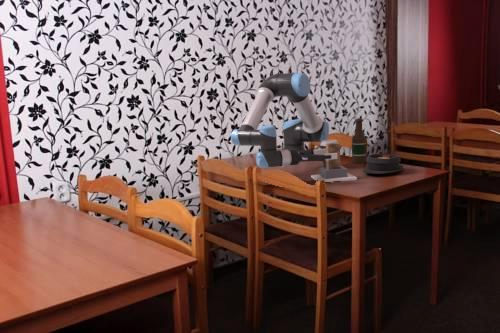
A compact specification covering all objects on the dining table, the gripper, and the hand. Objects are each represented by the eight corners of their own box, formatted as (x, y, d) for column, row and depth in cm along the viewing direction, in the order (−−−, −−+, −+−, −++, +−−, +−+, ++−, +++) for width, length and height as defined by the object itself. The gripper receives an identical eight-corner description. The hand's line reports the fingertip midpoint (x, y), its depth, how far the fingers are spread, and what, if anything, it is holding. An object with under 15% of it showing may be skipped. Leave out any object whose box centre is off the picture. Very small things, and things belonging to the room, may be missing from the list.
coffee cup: (338, 166, 290) (338, 139, 287) (339, 170, 281) (339, 141, 278) (320, 167, 291) (319, 139, 288) (321, 171, 282) (320, 142, 279)
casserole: (380, 166, 287) (380, 150, 285) (412, 170, 274) (413, 153, 272) (353, 174, 270) (353, 158, 268) (386, 179, 256) (386, 161, 255)
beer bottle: (358, 164, 294) (357, 120, 289) (349, 162, 301) (348, 119, 296) (369, 162, 297) (369, 118, 293) (360, 160, 304) (359, 117, 299)
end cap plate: (321, 183, 254) (320, 172, 253) (311, 177, 268) (310, 167, 267) (356, 179, 258) (356, 169, 257) (345, 174, 271) (345, 163, 270)
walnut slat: (328, 177, 260) (328, 144, 257) (326, 176, 263) (325, 143, 260) (340, 176, 262) (339, 143, 259) (338, 175, 265) (337, 142, 261)
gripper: (282, 160, 268) (322, 157, 273) (297, 170, 244) (341, 165, 249) (281, 145, 267) (322, 142, 271) (297, 153, 243) (341, 149, 247)
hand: (331, 153), depth 260 cm, fingers open, 13 cm apart
